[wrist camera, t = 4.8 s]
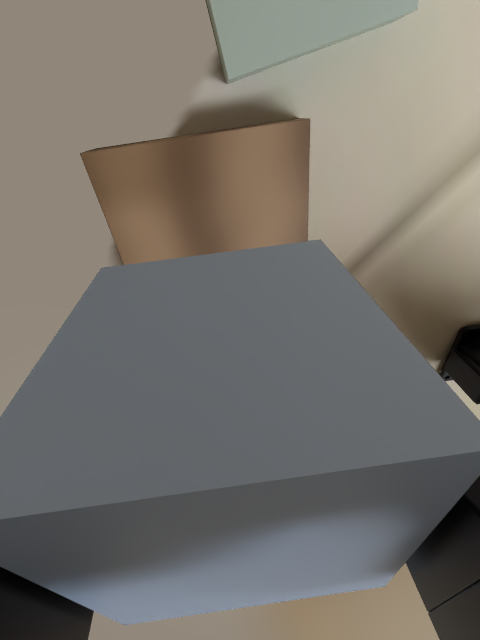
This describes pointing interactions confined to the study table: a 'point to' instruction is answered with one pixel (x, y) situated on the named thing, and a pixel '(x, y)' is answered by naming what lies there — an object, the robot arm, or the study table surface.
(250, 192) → the walnut slab
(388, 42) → the study table surface
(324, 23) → the grey-green slab
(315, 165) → the study table surface
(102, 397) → the blue cube
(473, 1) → the study table surface
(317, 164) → the study table surface
